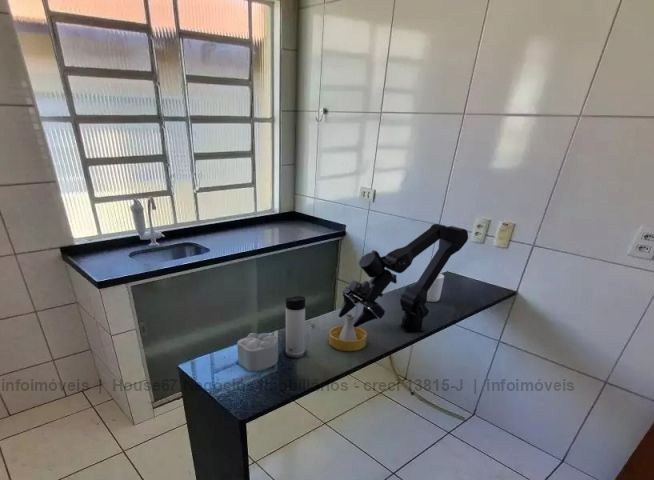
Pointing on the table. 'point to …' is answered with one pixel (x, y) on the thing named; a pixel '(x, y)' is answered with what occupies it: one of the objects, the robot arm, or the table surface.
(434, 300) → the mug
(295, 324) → the travel mug
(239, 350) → the lumpy-topped squat cylinder
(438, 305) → the table surface
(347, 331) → the flask
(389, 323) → the table surface
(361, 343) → the bowl
